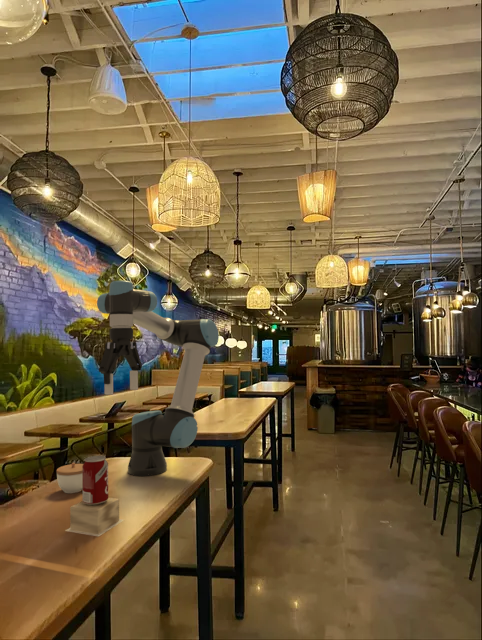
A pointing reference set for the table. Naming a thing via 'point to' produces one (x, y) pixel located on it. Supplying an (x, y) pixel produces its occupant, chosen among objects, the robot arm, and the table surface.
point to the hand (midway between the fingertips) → (122, 392)
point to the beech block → (94, 516)
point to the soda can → (95, 480)
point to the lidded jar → (70, 478)
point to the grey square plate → (95, 534)
